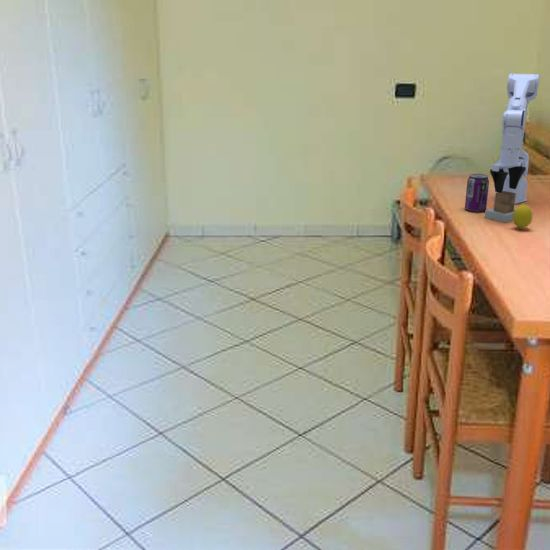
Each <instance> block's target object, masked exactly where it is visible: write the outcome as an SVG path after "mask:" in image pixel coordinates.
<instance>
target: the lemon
mask: <svg viewBox="0 0 550 550" xmlns="http://www.w3.org/2000/svg"><path fill="white" fill-rule="evenodd" d="M514 210H515V211H514V214H513V221H512V222H513V223H514V225H515V226H516V227H517V228H518V229H520V230H523V229H524V228H526V227H528V226H529V225H530V224H531V222H532V220H533V212H532V211H533V210H532V209H531V208H530V206H528V205H527V204H525V203H523V204H521V205H518V206H517V207H516V208H514Z"/></svg>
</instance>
